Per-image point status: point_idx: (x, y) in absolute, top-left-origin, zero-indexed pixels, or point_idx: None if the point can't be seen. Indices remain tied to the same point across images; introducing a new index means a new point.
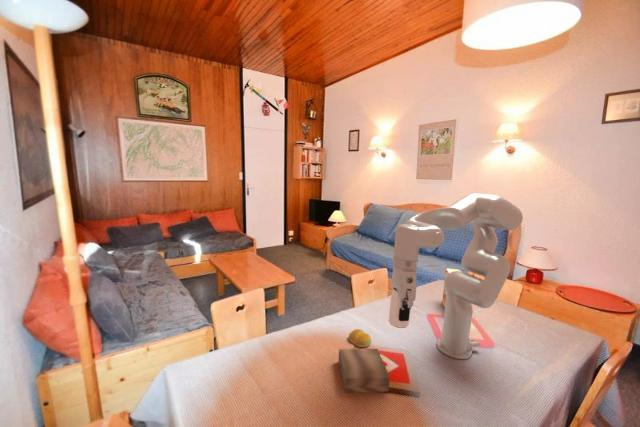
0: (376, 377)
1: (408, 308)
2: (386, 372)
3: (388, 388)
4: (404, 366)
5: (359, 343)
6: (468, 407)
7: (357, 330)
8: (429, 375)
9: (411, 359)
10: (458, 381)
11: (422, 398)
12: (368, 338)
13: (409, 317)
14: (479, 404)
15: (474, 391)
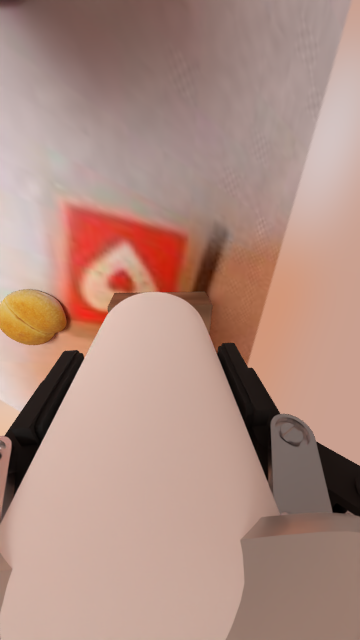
0: (209, 331)
1: (337, 470)
2: (197, 307)
3: (206, 294)
4: (128, 225)
5: (62, 326)
6: (283, 98)
7: (14, 333)
8: (162, 159)
9: (94, 187)
10: (191, 48)
11: (232, 224)
12: (40, 306)
13: (187, 319)
14: (285, 39)
15: (239, 7)
